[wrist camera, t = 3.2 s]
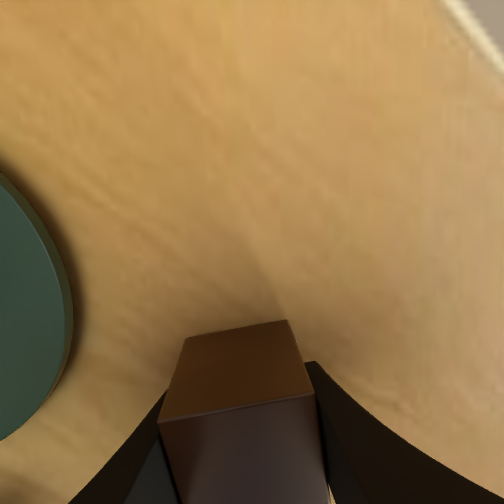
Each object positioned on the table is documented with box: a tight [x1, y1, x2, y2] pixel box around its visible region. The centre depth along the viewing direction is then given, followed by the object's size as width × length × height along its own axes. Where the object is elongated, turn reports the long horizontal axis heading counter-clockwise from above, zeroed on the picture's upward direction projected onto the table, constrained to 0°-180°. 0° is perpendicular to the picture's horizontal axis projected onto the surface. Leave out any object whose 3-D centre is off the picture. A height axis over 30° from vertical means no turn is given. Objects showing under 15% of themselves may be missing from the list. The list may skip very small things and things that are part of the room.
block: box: [157, 320, 331, 504], centre depth 9 cm, size 4×4×4 cm
